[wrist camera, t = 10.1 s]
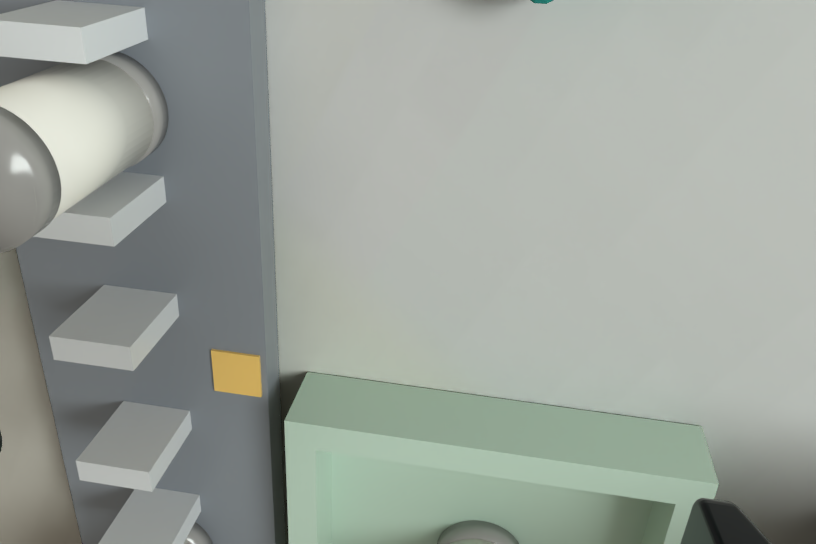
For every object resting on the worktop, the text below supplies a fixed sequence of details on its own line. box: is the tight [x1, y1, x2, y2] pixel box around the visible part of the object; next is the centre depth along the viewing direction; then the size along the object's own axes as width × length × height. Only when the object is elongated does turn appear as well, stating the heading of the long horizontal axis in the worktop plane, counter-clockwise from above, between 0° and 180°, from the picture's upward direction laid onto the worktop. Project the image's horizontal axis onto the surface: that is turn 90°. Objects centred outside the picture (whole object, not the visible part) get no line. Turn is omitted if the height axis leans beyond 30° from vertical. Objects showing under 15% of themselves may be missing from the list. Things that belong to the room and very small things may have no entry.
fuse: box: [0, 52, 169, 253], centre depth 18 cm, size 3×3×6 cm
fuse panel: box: [0, 0, 286, 544], centre depth 24 cm, size 8×25×4 cm, turn 177°
